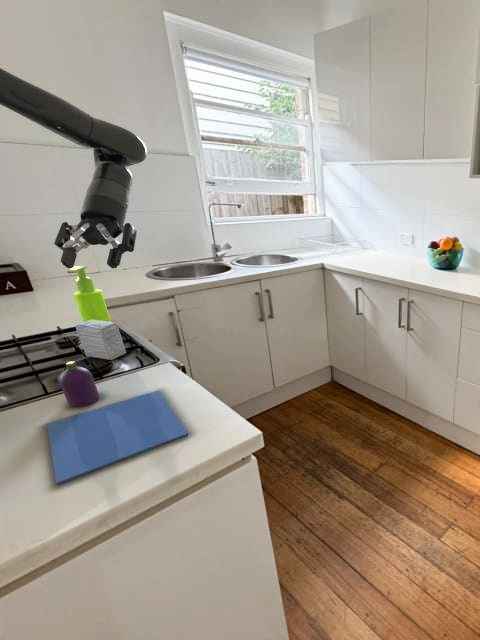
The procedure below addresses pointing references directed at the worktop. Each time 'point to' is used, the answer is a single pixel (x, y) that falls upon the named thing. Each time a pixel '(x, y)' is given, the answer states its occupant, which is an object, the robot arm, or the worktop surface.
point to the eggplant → (78, 386)
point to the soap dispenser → (89, 297)
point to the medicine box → (101, 339)
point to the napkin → (111, 434)
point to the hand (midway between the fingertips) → (89, 266)
